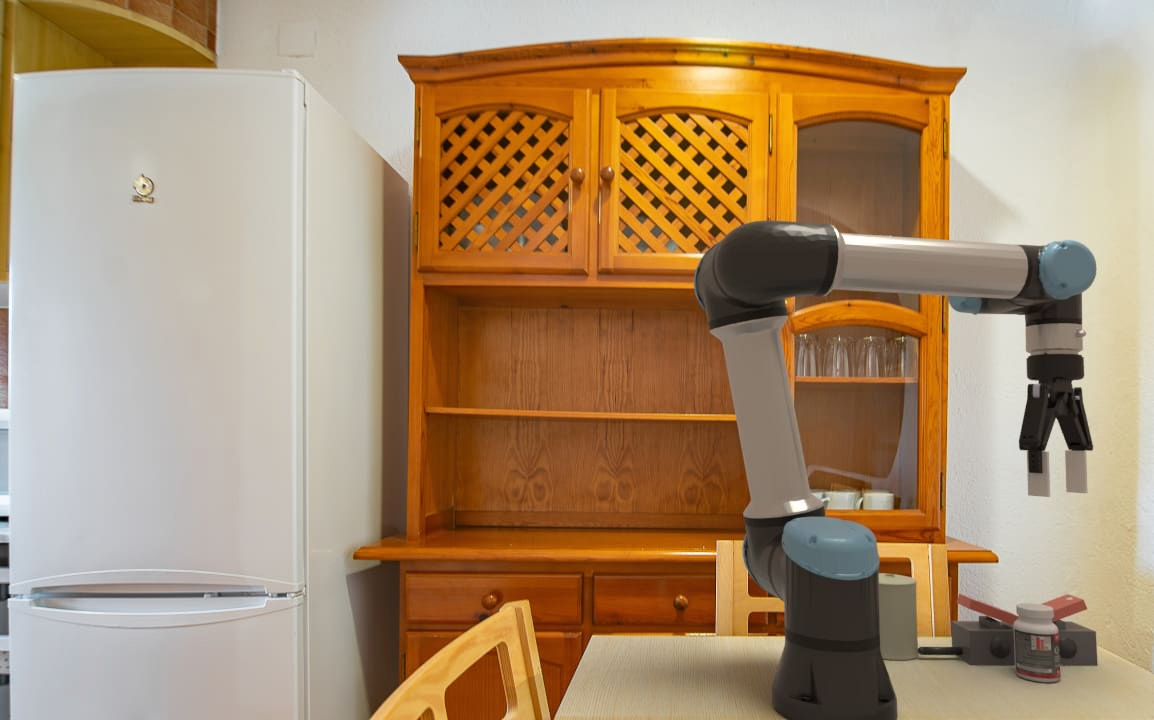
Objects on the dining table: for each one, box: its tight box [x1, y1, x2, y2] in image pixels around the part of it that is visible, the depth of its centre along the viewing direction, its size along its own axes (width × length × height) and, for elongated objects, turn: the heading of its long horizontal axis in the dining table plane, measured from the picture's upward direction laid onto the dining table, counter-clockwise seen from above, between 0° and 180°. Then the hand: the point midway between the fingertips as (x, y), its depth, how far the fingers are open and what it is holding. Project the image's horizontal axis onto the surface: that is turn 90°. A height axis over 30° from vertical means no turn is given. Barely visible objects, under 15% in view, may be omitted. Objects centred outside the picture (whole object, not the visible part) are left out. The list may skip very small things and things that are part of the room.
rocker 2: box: [1041, 593, 1088, 622], centre depth 123 cm, size 8×4×2 cm, turn 91°
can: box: [879, 572, 920, 661], centre depth 127 cm, size 9×9×12 cm
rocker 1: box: [956, 593, 1019, 625], centre depth 123 cm, size 8×4×2 cm, turn 88°
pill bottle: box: [1013, 602, 1062, 684], centre depth 114 cm, size 6×6×10 cm
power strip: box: [918, 615, 1098, 666], centre depth 122 cm, size 26×6×6 cm, turn 89°
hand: (1058, 494), depth 120 cm, fingers open, 13 cm apart
